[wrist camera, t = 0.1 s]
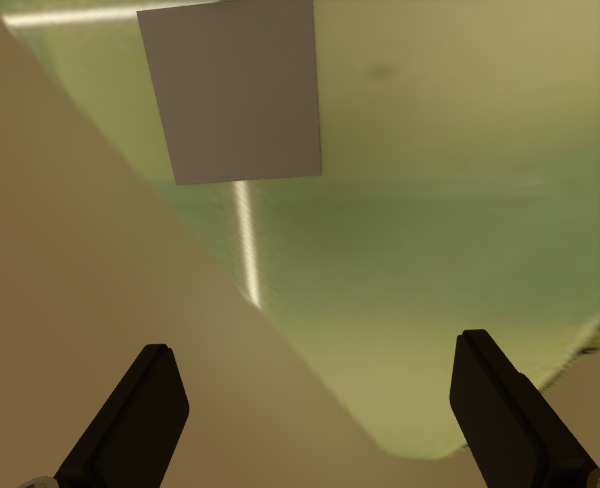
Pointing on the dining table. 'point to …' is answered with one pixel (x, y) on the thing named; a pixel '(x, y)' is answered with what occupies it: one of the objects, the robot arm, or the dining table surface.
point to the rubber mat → (236, 88)
